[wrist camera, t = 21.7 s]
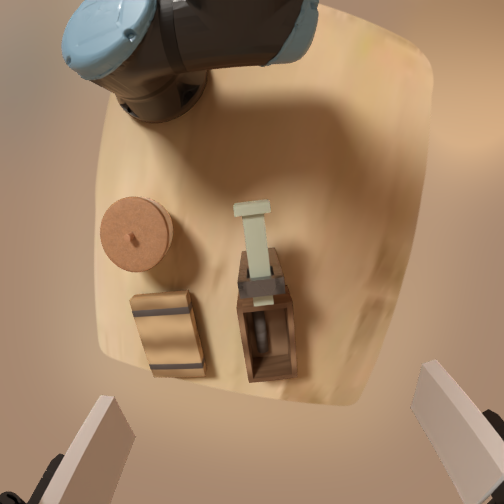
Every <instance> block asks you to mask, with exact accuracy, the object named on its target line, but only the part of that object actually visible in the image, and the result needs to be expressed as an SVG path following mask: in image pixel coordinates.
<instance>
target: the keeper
mask: <svg viewBox="0 0 504 504" xmlns="http://www.w3.org/2000/svg"><path fill="white" fill-rule="evenodd" d="M268 255H269V264H270V273H271V276H265V277H256V278H250V272H249V265H248V257H247V251H243V252H242V254H241V261H240V268H239V276H238V289H239V295H240V299H244V298H253V297H261V296H270V295H278V294H285V283H284V276H283V273H282V270H281V266H280V263H279V260H278V257H277V254H276V251H275V248H268Z"/></svg>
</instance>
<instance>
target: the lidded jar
mask: <svg viewBox="0 0 504 504" xmlns="http://www.w3.org/2000/svg"><path fill="white" fill-rule="evenodd" d="M100 237H101V242H102V246H103V249H104V251H105V253H106V254H107V256H108V257H109V259H110V260H111V261H112V262H113V263H114V264H116V265H117V266H118V267H120V268H122V269H124V270H126V271H130V272H143V271H146V270H149V269H151V268H153V267H154V266H155V265H157V264H158V263H159V262H160V261H161V259H162V258H163V257H164V255H165V254H166V253H167V251H168V249H169V247H170V245H171V242H172V238H173V223H172V220H171V217H170V215H169V213H168V212H167V210H166V209H165V208H164V207H163V206H162V205H161V204H160V203H158V202H156V201H155V200H153V199H150V198H145V197H127V198H123V199H120V200H118V201H116V202H115V203H113V204H112V205H111V206H110V207H109V208H108V210H107V211H106V213H105V214H104V216H103V219H102V222H101V228H100Z"/></svg>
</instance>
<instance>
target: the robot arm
mask: <svg viewBox="0 0 504 504" xmlns="http://www.w3.org/2000/svg"><path fill="white" fill-rule="evenodd" d="M318 3H319V0H85V1H84V2H83V3H82V4H81V5H80V7H79V8H78V9H77V10H76V11H75V12H74V14H73V15H72V17H71V18H70V20H69V22H68V24H67V26H66V28H65V31H64V34H63V39H62V55H63V58H64V60H65V62H66V64H67V65H68V66H69V67H70V68H71V69H72V70H74V71H75V72H77V73H78V74H79V75H80V76H81V78H83V79H85V80H89V81H91V82H93V83H95V84H97V85H99V86H101V87H103V88H105V89H107V90H109V91H111V92H113V93H115V95H116V97H117V100H118V102H119V104H120V106H121V107H122V108H123V109H124V110H125V111H126V112H127V113H128V114H129V115H131V116H132V117H134V118H136V119H139V120H141V121H144V122H149V123H160V122H166V121H169V120H172V119H175V118H177V117H179V116H181V115H182V114H184V113H185V112H187V111H188V110H189V109H190V108H191V107H193V105H194V104H195V103H196V102H197V101H198V99H199V98H200V96H201V95H202V93H203V91H204V88H205V85H206V81H207V70H211V69H220V68H230V67H243V66H261V67H265V66H269V65H271V64H286V63H292V62H295V61H297V60H299V59H301V58H302V57H303V56H304V55H305V54H306V52H307V51H308V49H309V47H310V45H311V43H312V41H313V38H314V35H315V31H316V27H317V22H318V11H317V6H318ZM411 410H412V412H413V413H414V415H415V416H416V418H417V420H418V421H419V423H420V425H421V427H422V428H423V430H424V432H425V433H426V435H427V437H428V439H429V440H430V442H431V444H432V445H433V447H434V449H435V451H436V452H437V454H438V456H439V457H440V460H441V461H442V463H443V465H444V467H445V469H446V470H447V472H448V474H449V476H450V478H451V480H452V482H453V483H454V485H455V487H456V489H457V491H458V493H459V495H460V497H461V499H462V501H463V503H464V504H481V503H483V502H484V501H485V500H486V499H487V498H488V497H489V496H490V495H491V496H492V497H493V498H492V499H491V501H489V502H488V503H487V504H504V421H503V420H502V419H501V417H500V416H499V415H498V414H496V413H494V412H492V411H491V410H489V409H488V410H486V411H485V412H483V413H481V412H480V410H479V409H478V408H477V407H476V406H475V404H474V403H473V402H472V401H471V399H470V398H469V397H468V396H467V395H466V393H465V392H464V391H463V390H462V389H461V388H460V386H459V385H458V384H457V383H456V382H455V380H454V379H453V378H452V377H451V376H450V375H449V374H448V373H447V371H446V370H445V369H444V368H443V367H442V366H441V364H440V363H439V362H438V361H437V360H436V359H434V360H431V361H428V362H425V363H422V364H421V369H420V373H419V377H418V382H417V386H416V389H415V394H414V397H413V401H412V404H411ZM135 437H136V436H135V435H134V433H133V431H132V429H131V427H130V426H129V424H128V422H127V420H126V418H125V416H124V415H123V413H122V411H121V409H120V407H119V405H118V403H117V401H116V399H115V397H113V396H103V395H100V397H99V399H98V400H97V402H96V403H95V405H94V407H93V408H92V410H91V411H90V413H89V415H88V417H87V418H86V420H85V421H84V423H83V425H82V426H81V428H80V430H79V432H78V433H77V435H76V437H75V438H74V440H73V442H72V444H71V445H70V447H69V449H68V451H67V452H66V454H65V455H63V454H59V455H57V456H56V457H55V458H54V459H53V460H52V461H51V462H50V464H49V466H48V467H47V469H46V470H47V471H45V473H44V474H43V478H41V480H40V482H39V483H38V485H37V487H36V489H35V491H34V492H33V494H32V496H31V498H30V500H29V501H28V503H27V504H110V503H111V500H112V498H113V495H114V492H115V489H116V487H117V484H118V481H119V479H120V476H121V473H122V471H123V468H124V465H125V463H126V460H127V457H128V455H129V453H130V450H131V448H132V445H133V442H134V440H135ZM0 504H26V503H25V502H24V501H23V500H22V499H21V498H20V497H19V496H17V495H16V494H15V493H13V492H4V493H2V494H1V495H0Z"/></svg>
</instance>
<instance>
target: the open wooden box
mask: <svg viewBox="0 0 504 504" xmlns="http://www.w3.org/2000/svg"><path fill="white" fill-rule="evenodd" d="M273 301H274V304H272V305H263V306H254V302H253V298H244V299H240V295H239V292H238V300H237V314H238V320H239V327H240V333H241V339H242V345H243V351H244V357H245V362H246V368H247V374H248V380H249V383H252V382H263V381H272V380H280V379H288V378H296V377H297V362H296V346H295V332H294V318H293V305H292V299H291V296H290V293H289V290H288V287H287V285H285V294H278V295H273Z"/></svg>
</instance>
